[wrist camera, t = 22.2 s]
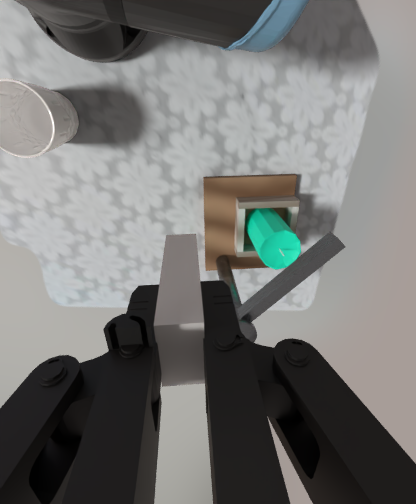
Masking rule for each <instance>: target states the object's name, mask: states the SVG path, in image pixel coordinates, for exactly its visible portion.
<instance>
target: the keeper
mask: <svg viewBox="0 0 416 504" xmlns="http://www.w3.org/2000/svg"><path fill="white" fill-rule="evenodd" d="M343 248H345V246H344V244H343V243H342V242H341V241H340V240H339V239H338V238H337V237H336V236H335V235H333V234H332V233H331V232H329V233H328V234H326V235H325V236H324V237H323V238H322V239H320V240H319V241H318V242H317V243H316V244H314V245H313V246H312V247H311V248H310V249H308V250H307V251H306V252H305V253H304V254H302V255H301V256H300V257H299V258H298V259H296V260H295V261H294V262H293V263H292V264H290V265H289V266H288V267H287V268H286V269H284V270H283V271H282V272H281V273H280V274H278V275H277V276H276V277H275V278H274V279H272V280H271V281H270V282H269V283H268V284H266V285H265V286H264V287H263V288H262V289H260V290H259V291H258V292H257V293H256V294H254V295H253V296H252V297H251V298H250V299H248V300H247V301H246V302H245V303H244V304H241V301H240V297H239V294H238V290H237V287H236V283H235V280H234V276H233V273H232V270H231V266H230V263H229V259H228V258H227V257H226V256H219V257H218V258H217V259H216V266H217V271H218V276H219V280H223V281H224V282H225V283H226V284H227V285H228V286H229V287H230V291H231V295H232V299H233V304H234V307H235V311H236V314H237V318H238V322H239V326H240V330H241V332H242V334H244V336H245V337H246V338H247V339H248V340H250V341H251V342H253V343H254V341H255V340H256V338H257V332H256V329H255V326H254V325H253V324H252V323H251V322H252V321H253V320H254V319H256V318H257V317H258V316H260V315H261V314H262V313H263V312H265V311H266V310H267V309H268V308H270V307H271V306H272V305H273V304H275V303H276V302H277V301H278V300H280V299H281V298H282V297H283V296H285V295H286V294H287V293H288V292H290V291H291V290H292V289H293V288H295V287H296V286H297V285H298V284H300V283H301V282H302V281H303V280H305V279H306V278H307V277H308V276H310V275H311V274H312V273H313V272H315V271H316V270H317V269H318V268H320V267H321V266H322V265H323V264H325V263H326V262H327V261H328V260H330V259H331V258H332V257H333V256H335V255H336V254H337V253H338V252H340V251H341V250H342V249H343Z"/></svg>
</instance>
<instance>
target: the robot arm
mask: <svg viewBox="0 0 416 504" xmlns="http://www.w3.org/2000/svg"><path fill="white" fill-rule="evenodd" d="M15 1H17V2H18V3H20V4H21V5H23V6H25V7H26V8H28V10H29V12H30V13H31V15H32V17H33V18H34V20H35V21H36V22H37V24H38V25H39V26H40V28H41V29H42V30H43V31H44V32H45V33H46V34H47V35H48V36H49V37H50V38H51V39H52V40H53V41H54V42H55V43H56V44H58V45H59V46H60V47H62V48H63V49H65V50H66V51H68V52H70V53H72V54H74V55H76V56H78V57H80V58H83V59H85V60H89V61H93V62H111V61H115V60H118V59H121V58H123V57H125V56H127V55H128V54H130V53H131V52H132V51H133V50H134V49H135V48H136V47H137V46H138V45H139V44H140V43H141V41H142V40H143V38H144V37H145V35H146V33H147V31H151V32H156V33H160V34H165V35H169V36H174V37H178V38H183V39H187V40H192V41H196V42H201V43H205V44H210V45H215V46H218V47H219V48H220V49H223V50H233V49H239V50H246V51H252V52H261V51H266V50H268V49H270V48H272V47H274V46H275V45H276V44H278V43H279V42H280V41H281V40H282V39H283V38H284V37H285V36H286V35H287V33H288V32H289V31H290V30H291V28H292V27H293V26H294V24H295V23H296V21H297V20H298V18H299V17H300V15H301V13H302V12H303V10H304V8H305V7H306V5H307V3H308V1H309V0H15ZM104 333H105V337H106V341H107V345H108V349H109V351H108V352H107V353H105V354H104V355H102V356H100V357H97V358H95V359H92V360H88V361H85V362H82V363H79V362H78V361H77V359H76V358H74V357H71V356H69V355H65V356H64V355H62V356H57V357H53V358H50V359H48V360H46V361H45V362H43V363H41V364H40V365H39V366H37V367H36V368H35V369H34V370H33V371H32V372H31V373H30V374H29V376H28V377H27V378H26V379H25V380H24V381H23V383H22V384H21V385H20V386H19V387H18V388H17V390H16V391H15V392H14V393H13V394H12V395H11V397H10V398H9V399H8V400H7V401H6V402H5V404H4V405H3V406H2V407H1V408H0V504H61V503H62V504H154V497H155V483H156V469H157V457H158V442H159V430H160V416H161V395H160V387H161V382H162V387H163V386H176V385H187V384H201V383H205V388H206V413H207V422H208V435H209V436H208V437H209V450H210V465H211V479H212V493H213V504H290V501H289V497H288V493H287V489H286V486H285V482H284V478H283V475H282V471H281V467H280V463H279V459H278V456H277V452H276V448H275V444H274V440H273V437H272V434H271V429H270V426H269V422H268V418H269V420H270V422H271V424H272V426H273V428H274V430H275V432H276V434H277V435H278V437H279V439H280V441H281V443H282V445H283V447H284V449H285V451H286V453H287V455H288V457H289V459H290V460H291V462H292V464H293V466H294V468H295V470H296V472H297V474H298V476H299V478H300V480H301V482H302V483H303V485H304V487H305V489H306V491H307V493H308V495H309V497H310V499H311V501H312V502H313V504H416V464H415V463H414V461H413V460H412V459H411V458H410V457H409V456H408V455H407V453H406V452H405V451H404V450H403V449H402V448H401V446H400V445H399V444H398V443H397V442H396V441H395V439H394V438H393V437H392V436H391V435H390V434H389V433H388V431H387V430H386V429H385V428H384V427H383V426H382V425H381V423H380V422H379V421H378V420H377V419H376V418H375V416H374V415H373V414H372V413H371V412H370V411H369V410H368V408H367V407H366V406H365V405H364V404H363V403H362V402H361V400H360V399H359V398H358V397H357V396H356V395H355V393H354V392H353V391H352V390H351V389H350V388H349V387H348V385H347V384H346V383H345V382H344V381H343V380H342V379H341V377H340V376H339V375H338V374H337V373H336V372H335V370H334V369H333V368H332V367H331V366H330V365H329V363H328V362H327V361H326V360H325V359H324V358H323V357H322V355H321V354H320V353H319V352H318V351H317V350H316V349H315V348H314V347H313V346H311V345H310V344H309V343H307V342H305V341H302V340H298V339H285V340H282V341H280V342H278V343H277V345H276V346H275V347H274V348H272V347H267V346H262V345H258V344H255V343H253V342H251V341H250V340H248V339H247V338H246V337H245V336H244V334H242V332H241V330H240V326H239V322H238V318H237V314H236V311H235V307H234V304H233V299H232V295H231V291H230V287H229V286H228V285H227V284H226V283H225V282H224V281H223V280H219V281H201V282H200V273H199V262H198V251H197V240H196V234H182V235H166V241H165V248H164V255H163V262H162V270H161V277H160V284H159V285H143V286H138V287H137V288H136V290H135V291H134V292H133V293H132V295H131V298H130V302H129V305H128V310H127V313H126V314H122V315H120V316H117V317H115V318H113V319H112V320H111V321H109V322H108V323H107V325H106V326H105V328H104ZM267 416H268V418H267Z"/></svg>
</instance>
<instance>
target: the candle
mask: <svg viewBox="0 0 416 504" xmlns="http://www.w3.org/2000/svg"><path fill="white" fill-rule="evenodd" d="M245 226H246V231H247V233H248V235H249V237H250V239H251V241H252V243H253V245H254V247H255V249H256V251H257V253H258V255H259V257H260V259H261V260H262V261H263V262H264V264H265V265H266V266H268V267H271V268H273V269H281V268H285V267H287V266H289V265H290V264H292V263H293V262H294V261H295V260H296V259H297V258H298V256H299V254H300V253H301V247H300V240H299V239H298V237H297V236H296V234H295V233H294V232H293V231H292V230H291V229H290V228H289V226H288V225H287V224H286V223H285V222H284V221H283V220H282V218H281V217H280V216H279V215H278V214H277V213H276V212H275V210H274V209H271V208H256V209H254V210H253V211H252V212H250V213H249V215H248V217H247V219H246V221H245Z"/></svg>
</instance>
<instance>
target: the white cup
mask: <svg viewBox="0 0 416 504" xmlns="http://www.w3.org/2000/svg"><path fill="white" fill-rule="evenodd" d="M78 126H79V120H78V115H77V111H76V110H75V108H74V106H73V105H72V103H71V102H70V100H68V99H67V98H66V97H64V96H63V95H62V94H60V93H59V92H54V91H51V90H49V89H47V88H44V87H40V86H37V85H34V84H29V83H25V82H21V81H17V80H13V79H0V148H1V149H2V150H4V151H6V152H7V153H9V154H12V155H14V156H18V157H23V158H32V157H37V156H39V155H42V154H44V153H46V152H48V151H51V150H53V149H55V148H57V147H59V146H61V145H63V144H64V143H66V142H68V141H70V140H71V139H72V138H73V137H74V136H75V135H76V134H77V130H78Z"/></svg>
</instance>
